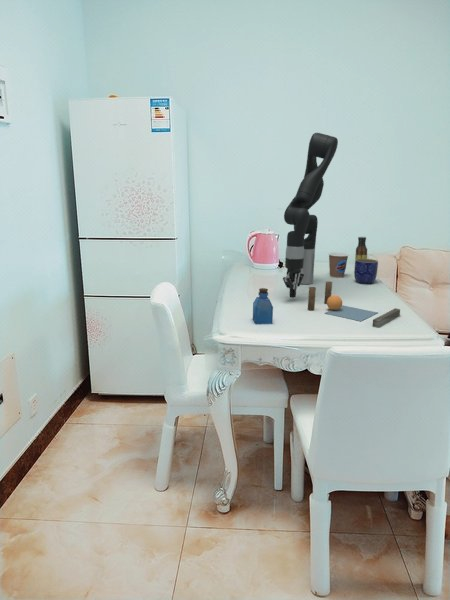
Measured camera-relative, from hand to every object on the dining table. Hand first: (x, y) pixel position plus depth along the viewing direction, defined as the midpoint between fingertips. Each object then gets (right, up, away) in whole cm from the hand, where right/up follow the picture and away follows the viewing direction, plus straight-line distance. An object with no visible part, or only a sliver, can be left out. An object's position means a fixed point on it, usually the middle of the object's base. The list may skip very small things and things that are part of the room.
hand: (292, 297), depth 195 cm
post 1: (+5, -5, -13) cm, 15 cm away
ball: (+15, -2, -14) cm, 20 cm away
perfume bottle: (-15, -9, -28) cm, 33 cm away
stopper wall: (+31, -9, -26) cm, 41 cm away
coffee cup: (+31, +11, +49) cm, 59 cm away
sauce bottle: (+46, +13, +58) cm, 75 cm away
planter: (+41, +7, +36) cm, 55 cm away
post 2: (+14, -3, -3) cm, 15 cm away
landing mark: (+20, -6, -17) cm, 27 cm away
